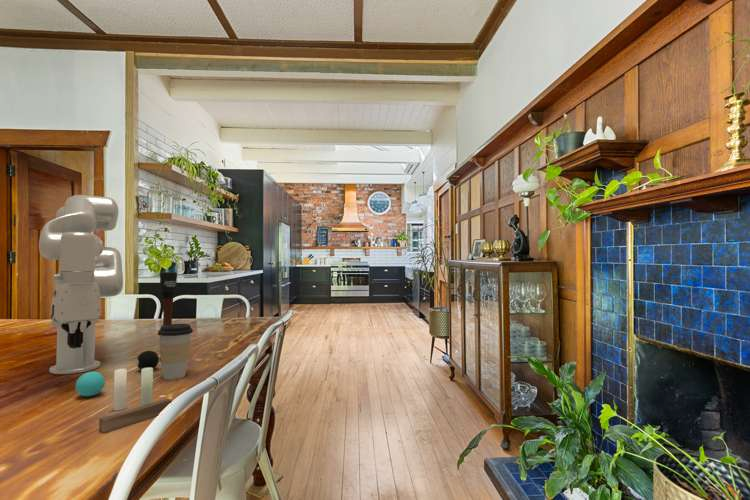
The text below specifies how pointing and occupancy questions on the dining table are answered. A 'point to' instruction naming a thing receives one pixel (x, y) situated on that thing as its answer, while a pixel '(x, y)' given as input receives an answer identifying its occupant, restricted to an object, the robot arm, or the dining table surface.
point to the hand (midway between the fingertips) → (75, 347)
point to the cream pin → (120, 389)
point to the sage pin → (146, 385)
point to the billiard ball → (147, 360)
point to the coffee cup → (174, 349)
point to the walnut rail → (132, 415)
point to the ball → (90, 384)
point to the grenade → (168, 294)
